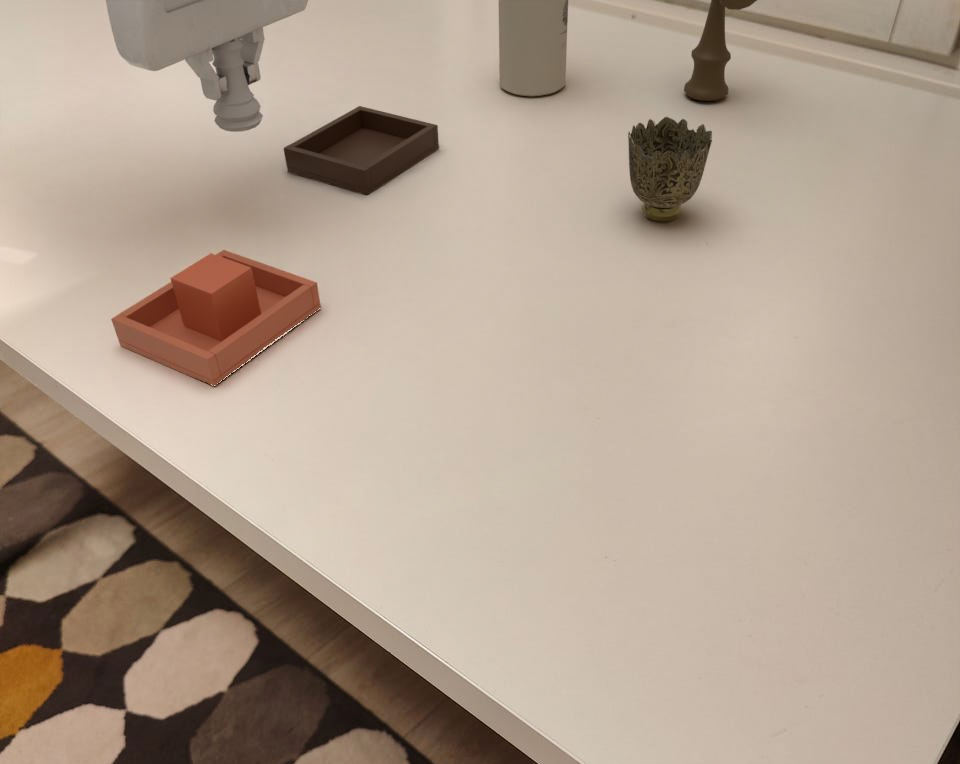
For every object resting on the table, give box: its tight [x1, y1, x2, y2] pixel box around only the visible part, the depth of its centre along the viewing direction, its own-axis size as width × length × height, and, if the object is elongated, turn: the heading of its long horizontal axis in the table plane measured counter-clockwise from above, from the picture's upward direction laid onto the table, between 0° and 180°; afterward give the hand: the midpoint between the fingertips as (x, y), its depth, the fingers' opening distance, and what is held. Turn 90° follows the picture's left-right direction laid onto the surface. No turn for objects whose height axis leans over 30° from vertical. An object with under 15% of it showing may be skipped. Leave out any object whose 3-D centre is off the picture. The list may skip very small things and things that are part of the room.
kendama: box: [683, 0, 758, 102], centre depth 104 cm, size 6×10×20 cm, turn 18°
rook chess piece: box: [212, 37, 264, 133], centre depth 86 cm, size 4×4×8 cm
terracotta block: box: [170, 253, 261, 341], centre depth 76 cm, size 4×4×4 cm
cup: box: [627, 116, 713, 223], centre depth 87 cm, size 8×7×8 cm
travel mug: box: [498, 0, 569, 98], centre depth 108 cm, size 8×8×18 cm
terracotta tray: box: [110, 249, 322, 387], centre depth 77 cm, size 13×11×3 cm
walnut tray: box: [283, 105, 440, 196], centre depth 100 cm, size 13×11×3 cm
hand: (232, 89), depth 86 cm, fingers closed on rook chess piece, 3 cm apart
